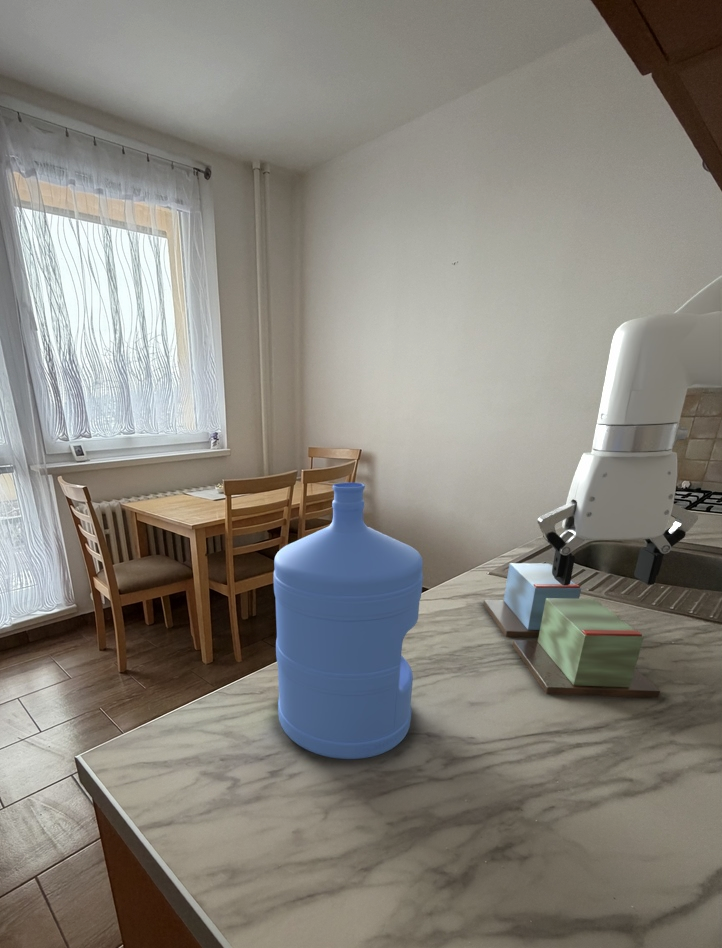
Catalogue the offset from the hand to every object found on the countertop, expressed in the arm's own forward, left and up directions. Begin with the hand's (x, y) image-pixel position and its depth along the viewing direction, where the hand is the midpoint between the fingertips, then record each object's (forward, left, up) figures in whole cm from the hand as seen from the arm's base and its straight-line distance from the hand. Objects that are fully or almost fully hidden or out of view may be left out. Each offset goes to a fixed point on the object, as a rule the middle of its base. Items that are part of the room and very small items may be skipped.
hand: (602, 581), depth 61 cm
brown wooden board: (+1, 0, -13) cm, 13 cm away
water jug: (+33, +13, -13) cm, 38 cm away
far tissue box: (+1, -16, -12) cm, 20 cm away
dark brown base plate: (+1, -16, -13) cm, 21 cm away
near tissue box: (+1, 0, -12) cm, 12 cm away
